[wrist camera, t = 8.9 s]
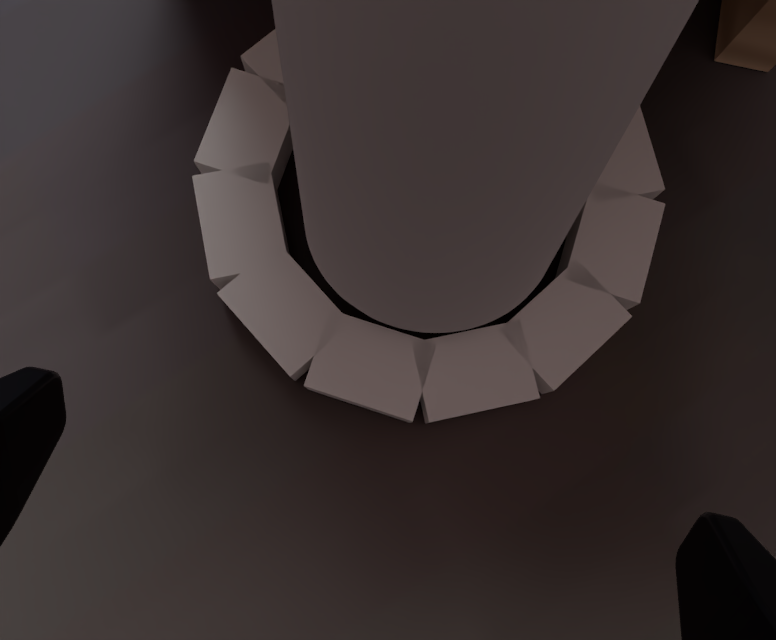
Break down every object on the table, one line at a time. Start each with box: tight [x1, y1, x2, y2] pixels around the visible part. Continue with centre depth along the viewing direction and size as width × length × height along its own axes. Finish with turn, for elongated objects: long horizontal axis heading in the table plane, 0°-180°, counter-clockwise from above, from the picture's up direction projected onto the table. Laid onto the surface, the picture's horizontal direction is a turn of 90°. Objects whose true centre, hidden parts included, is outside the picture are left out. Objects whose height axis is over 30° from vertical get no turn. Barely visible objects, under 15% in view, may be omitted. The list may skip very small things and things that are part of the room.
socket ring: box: [192, 29, 665, 424], centre depth 18 cm, size 12×12×1 cm
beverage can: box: [272, 0, 699, 333], centre depth 12 cm, size 6×6×12 cm
